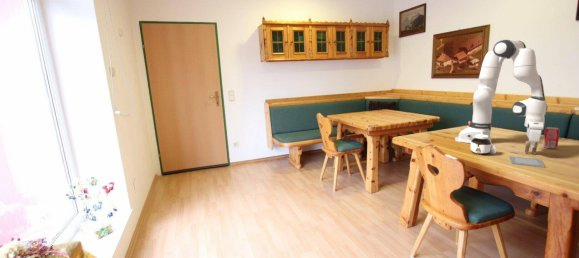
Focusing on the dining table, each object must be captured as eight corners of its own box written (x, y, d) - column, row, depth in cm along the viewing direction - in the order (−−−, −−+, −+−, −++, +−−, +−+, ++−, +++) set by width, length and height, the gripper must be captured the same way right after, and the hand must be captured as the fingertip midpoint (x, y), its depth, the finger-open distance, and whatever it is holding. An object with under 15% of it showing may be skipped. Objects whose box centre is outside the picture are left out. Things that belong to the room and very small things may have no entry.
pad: (511, 163, 157) (511, 162, 157) (509, 156, 168) (509, 156, 168) (544, 167, 149) (545, 166, 149) (540, 160, 161) (540, 159, 161)
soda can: (560, 149, 178) (563, 129, 176) (546, 148, 180) (549, 129, 177) (552, 146, 185) (555, 126, 183) (539, 145, 187) (542, 126, 184)
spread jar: (468, 152, 180) (469, 134, 178) (479, 149, 185) (481, 132, 182) (487, 157, 170) (489, 138, 167) (499, 154, 174) (501, 136, 171)
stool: (525, 153, 172) (527, 142, 171) (524, 151, 176) (525, 140, 175) (536, 154, 170) (537, 143, 168) (534, 152, 174) (536, 141, 172)
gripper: (525, 120, 179) (522, 141, 182) (529, 126, 163) (526, 149, 165) (538, 121, 176) (535, 142, 179) (544, 127, 159) (540, 150, 162)
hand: (531, 145), depth 172 cm, fingers closed on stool, 5 cm apart
